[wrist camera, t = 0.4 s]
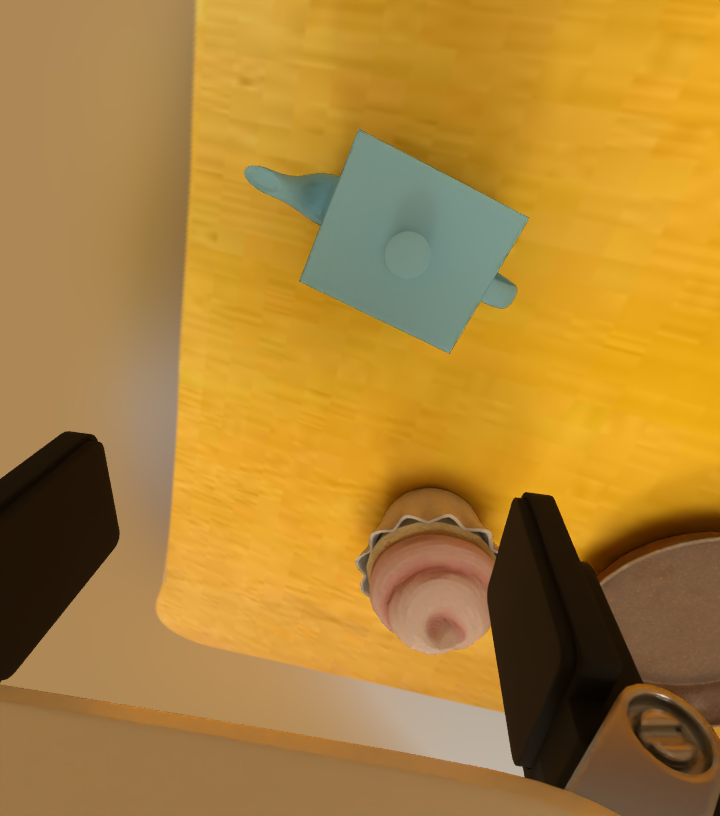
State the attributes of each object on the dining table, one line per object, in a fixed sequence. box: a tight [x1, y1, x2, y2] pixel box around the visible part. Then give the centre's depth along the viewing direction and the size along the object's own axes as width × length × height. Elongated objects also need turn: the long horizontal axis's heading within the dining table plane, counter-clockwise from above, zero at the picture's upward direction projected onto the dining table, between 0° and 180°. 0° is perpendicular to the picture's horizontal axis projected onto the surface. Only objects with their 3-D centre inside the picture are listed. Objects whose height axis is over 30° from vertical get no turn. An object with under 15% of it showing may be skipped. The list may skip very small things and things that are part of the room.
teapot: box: [244, 129, 529, 354], centre depth 21 cm, size 12×6×8 cm, turn 66°
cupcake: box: [355, 488, 499, 655], centre depth 28 cm, size 9×9×10 cm
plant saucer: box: [597, 532, 720, 727], centre depth 32 cm, size 18×18×3 cm
